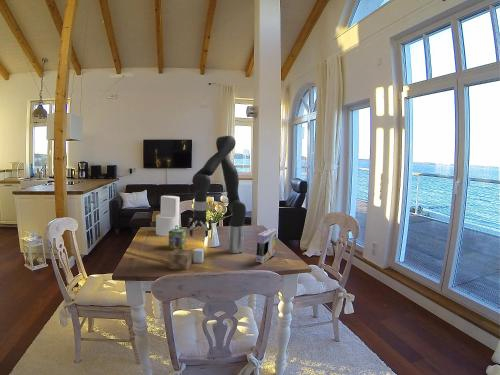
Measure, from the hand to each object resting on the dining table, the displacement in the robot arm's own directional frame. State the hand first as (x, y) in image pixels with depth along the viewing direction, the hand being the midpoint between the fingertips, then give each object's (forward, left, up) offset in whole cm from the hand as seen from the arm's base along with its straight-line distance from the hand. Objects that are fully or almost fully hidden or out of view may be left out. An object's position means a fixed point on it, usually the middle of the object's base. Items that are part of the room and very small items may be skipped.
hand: (198, 236), depth 188 cm
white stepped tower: (+38, -58, -15) cm, 71 cm away
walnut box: (+8, +10, -15) cm, 20 cm away
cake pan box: (-39, -11, -15) cm, 43 cm away
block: (0, 0, -15) cm, 15 cm away
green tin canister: (+20, -24, -15) cm, 34 cm away
